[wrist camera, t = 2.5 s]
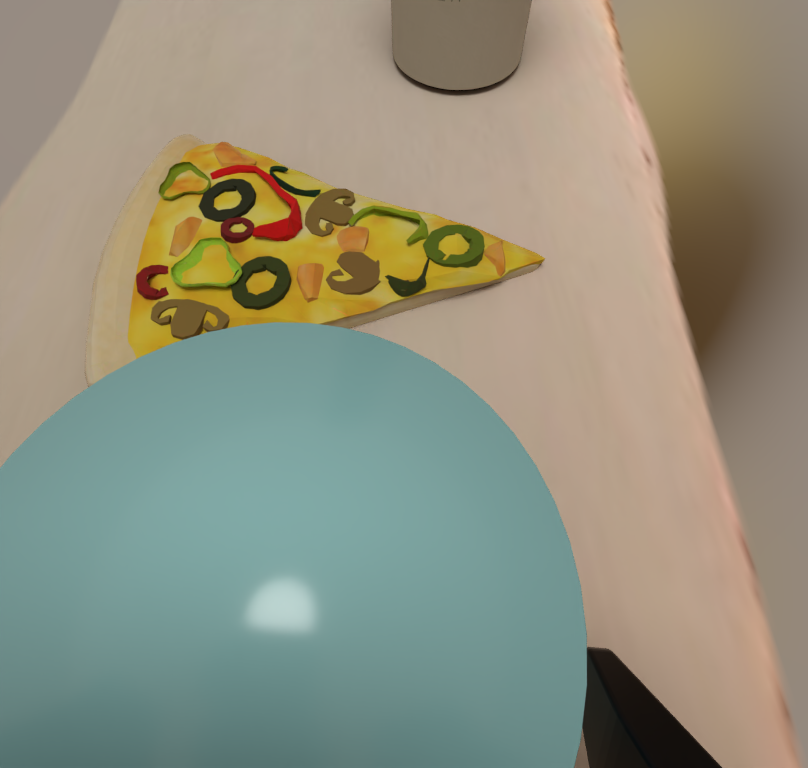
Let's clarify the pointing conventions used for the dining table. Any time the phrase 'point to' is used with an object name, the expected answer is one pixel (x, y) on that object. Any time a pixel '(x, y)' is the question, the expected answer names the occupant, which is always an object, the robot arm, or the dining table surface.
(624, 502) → the dining table surface
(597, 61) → the dining table surface
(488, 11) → the travel mug
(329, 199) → the pizza slice
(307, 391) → the teal rounded cylinder
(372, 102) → the dining table surface
